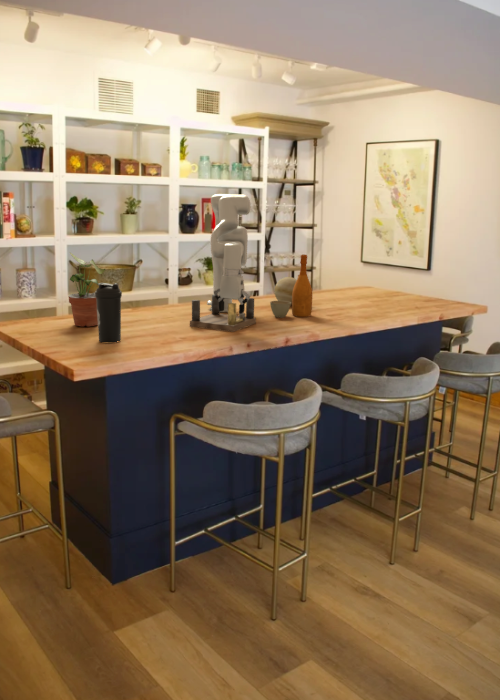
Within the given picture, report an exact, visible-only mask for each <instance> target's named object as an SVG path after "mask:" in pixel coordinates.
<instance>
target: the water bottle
mask: <svg viewBox="0 0 500 700" xmlns="http://www.w3.org/2000/svg"><path fill="white" fill-rule="evenodd" d="M119 285H120V284H119V283H117V282H115V283H113V284H112V283H106V282H99V283H98V285H97V286H98V287H97V288H96V290H95V291H94V293H95V297H96V302H97V319H98V324H97V329H98V330H97V331H98V341H100V343H102V342H116V343H118V342H117V341H120V340H121V339H122V335H121V333H122V332H121V331H122V327H121V325H122V320H121V319H122V318H121V317H122V314H121V313H122V312H121V311H122V309H121V308H122V305H121V303H122V293H123V292H122V291H121V289H120V287H119ZM120 342H121V341H120Z"/></svg>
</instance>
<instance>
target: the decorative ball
mask: <svg viewBox="0 0 500 700" xmlns="http://www.w3.org/2000/svg"><path fill="white" fill-rule="evenodd" d="M296 281H297V279H296V278H294V277H291V276H286V277H282V278H281V279H279V280H278V281H277V282H276V284H275V287H274V292H273V293H274V296H275V298H276V301H288V302H291V305H290V306H292V293H293V288H294V286H295V283H296Z"/></svg>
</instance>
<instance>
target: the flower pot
mask: <svg viewBox="0 0 500 700" xmlns="http://www.w3.org/2000/svg"><path fill="white" fill-rule="evenodd" d="M291 306H292V305H291V302H288V301H278V300H272V301H270V309H271V312H272V314H273V316H274V317H275V318H286V316H287V315H288V313H289V311H290V308H291Z"/></svg>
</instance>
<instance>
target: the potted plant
mask: <svg viewBox="0 0 500 700" xmlns="http://www.w3.org/2000/svg"><path fill="white" fill-rule="evenodd" d="M69 254H70V255H71V256H72V258H73V259H74V260H75V261H76V262H78V267H79V272H81V268H80V267H82V268H83V267H84V268H90V267H91V268H92V265H93V266H94V269H95V270H96V272H97V274H99V275H101V274H104V272H105V270H106V268H99V267H98V266H97V264H96V262H95V260H94V259H91V260H90V261H89V262H88V263H89V264H87V262H86V261H85V260H83V259H81V258H79V257H77V256H76V255H74V254H73V253H72V252H69ZM91 268H90V269H89V270H91ZM83 271H84V272H83V273H75V274H72V275H71V276H70V278H69V280H70V281H71V282H72V283H74V282H75V284H76V285H75V286H76V290H77V292H78V293H77V292H76V293H72V294H71V293H70V294H69V295H68V303H69V304H70V307H71V312H72V317H73V318H72V319H73V325H74V326H77V327H83V328H84V327H94V326H98V319H97V302H96V297H95V292H92V293H90V292H89V291H90V289H91V286H92V285H93V284H96V285H97V286H99V285H98V284H99V283H98V280H97V279H95V278H92V279H89V277H90V275H88V277H87V279H86V278H85V275H86V269H84V270H83ZM88 274H90V271H89V273H88ZM79 282H80V284H79V285H80V286H79V287H80V289H79V287H78V284H77V283H79ZM87 286H89V287H88V288H87Z"/></svg>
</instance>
